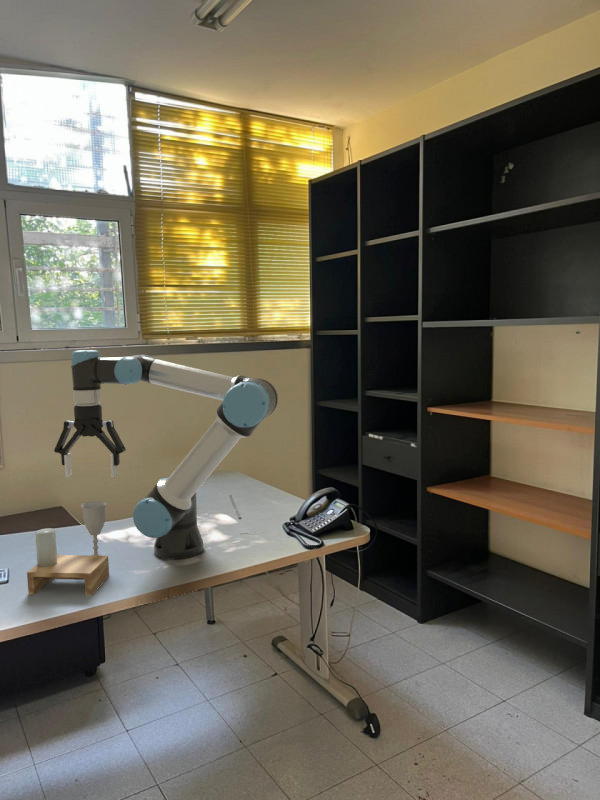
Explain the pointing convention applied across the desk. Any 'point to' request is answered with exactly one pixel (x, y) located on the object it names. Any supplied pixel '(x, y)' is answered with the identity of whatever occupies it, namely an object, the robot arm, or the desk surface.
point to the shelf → (71, 572)
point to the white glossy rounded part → (46, 547)
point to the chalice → (94, 520)
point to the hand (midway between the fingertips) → (91, 476)
